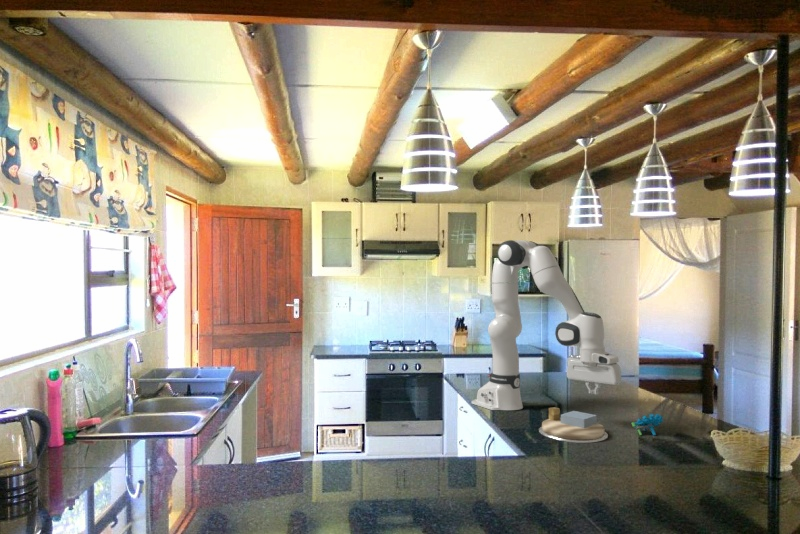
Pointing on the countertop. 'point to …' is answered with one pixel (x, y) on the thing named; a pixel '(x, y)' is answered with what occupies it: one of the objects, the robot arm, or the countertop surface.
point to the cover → (578, 419)
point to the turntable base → (573, 439)
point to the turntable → (570, 428)
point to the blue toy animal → (648, 423)
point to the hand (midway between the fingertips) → (593, 394)
